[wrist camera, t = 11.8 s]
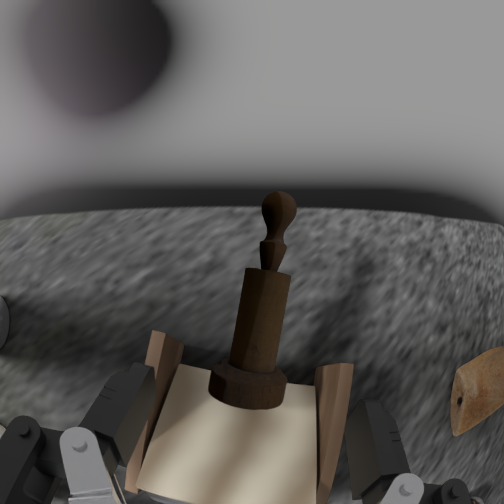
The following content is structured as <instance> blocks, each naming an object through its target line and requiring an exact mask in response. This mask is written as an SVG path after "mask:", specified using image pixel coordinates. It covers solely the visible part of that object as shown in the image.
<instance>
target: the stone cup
mask: <svg viewBox="0 0 504 504" xmlns="http://www.w3.org/2000/svg"><path fill="white" fill-rule="evenodd" d="M452 387H453V388H452V393H451V400H450V401H451V407H450V418H451V427H452V432H453V435H454V436H459V435H461V434H463V433H464V432H466V431H468V430H469V429H471V428H473V427H474V426H475V425H477V424H478V423H480V422H481V421H482V420H484V419H486V418H487V417H488V416H490V415H491V414H492V413H494V412H495V411H496V410H497V409H498V408H499V407H501V406H502V405H503V404H504V347H496V348H492V349H489V350H488V351H486V352H484V353H482V354H481V355H479V356H478V357H476V358H474V359H473V360H471V361H470V362H468V363H466V364H464V365H463V366H461V367H460V368H458V369H457V371H456V373H455V378H454V382H453V386H452Z"/></svg>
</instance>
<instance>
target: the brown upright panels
mask: <svg viewBox="0 0 504 504" xmlns="http://www.w3.org/2000/svg"><path fill="white" fill-rule="evenodd" d="M183 348H184V344H182V343H180V342H179V341H177V340H175V339H174V338H172V337H171V336H169V335H167V334H166V333H162V332H158V331H154V330H152V334H151V338H150V342H149V347H148V351H147V356H146V360H145V365H149V366H152V367H154V369H155V379H156V389H157V396H156V401H155V404H154V407H153V409H152V411H151V413H150V416H149V418H148V420H147V422H146V425H145V427H144V429H143V431H142V433H141V436H140V438H139V440H138V442H137V445H136V447H135V449H134V452H133V454H132V456H131V458H130V461H129V463H128V465H127V472H126V481H125V490H127V491H130V492H133V493H136V494H138V493H139V492H140V491H141V490H142V489H139V488H137V487H136V486H135V485H136V482H137V479H138V476H139V473H140V470H141V467H142V464H143V461H144V459H145V456H146V453H147V450H148V447H149V444H150V442H151V439H152V436H153V433H154V430H155V428H156V425H157V422H158V419H159V416H160V414H161V411H162V408H163V406H164V403H165V400H166V397H167V395H168V392H169V389H170V387H171V384H172V381H173V379H174V376H175V373H176V371H177V368H178V366H179V363H180V362H181V358H182V353H183ZM353 368H354V364H350V363H337V364H332V365H326V366H320V367H316V370H315V377H314V384H313V386H315V396H316V437H317V476H316V504H327V502H328V499H329V495H330V491H331V487H332V484H333V480H334V476H335V471H336V467H337V463H338V458H339V454H340V449H341V444H342V439H343V434H344V428H345V423H346V417H347V411H348V405H349V398H350V392H351V384H352V377H353Z"/></svg>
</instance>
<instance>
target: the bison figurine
mask: <svg viewBox="0 0 504 504" xmlns="http://www.w3.org/2000/svg"><path fill="white" fill-rule="evenodd" d="M470 500H471V504H484V502H483V500H482V499H481V498H480V497H477V496H472V497H470Z"/></svg>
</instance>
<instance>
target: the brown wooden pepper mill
mask: <svg viewBox="0 0 504 504" xmlns="http://www.w3.org/2000/svg"><path fill="white" fill-rule="evenodd" d="M296 212H297V207H296V203H295V200H294V199H293V198H292V197H291V196H290V195H289V194H287V193H284V192H279V191H278V192H273V193H271V194H269V195H268V196H267V197H266V198H265V199H264V201H263V204H262V215H263V218H264V221H265V223H266V226H267V236H266V238H265V240H263V241H261V242H260V261H261V269H258V268H246V269H245V275H244V281H243V287H242V292H241V298H240V304H239V309H238V315H237V320H236V326H235V331H234V337H233V342H232V348H231V353H230V357H229V358H224V359H223V360H221V361H220V362H219V363H216V364H214V365H213V366H212V369H211V374H210V379H209V385H208V392H209V394H210V395H211V396H212V397H213V398H215V399H217V400H218V401H220V402H222V403H224V404H227V405H229V406H233V407H237V408H241V409H248V410H269V409H273V408H276V407H278V406H280V405H281V404H282V402H283V399H284V395H285V389H286V385H287V377H286V376H285V375H284V374H283V373H282V371H281V370H280V369H279V368H278V367H277V366H275V363H276V357H277V352H278V346H279V341H280V335H281V330H282V324H283V319H284V313H285V308H286V302H287V297H288V291H289V286H290V280H291V276H290V275H287V274H283V273H280V272H277V271H278V268H279V266H280V264H281V262H282V259H283V257H284V254H285V252H286V248H287V246H286V245H285V244H284V240H283V236H284V232H285V230H286V229H287V227H288V226H289V225H290V223H291V222H292V221H293V219H294V218H295V216H296Z"/></svg>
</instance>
